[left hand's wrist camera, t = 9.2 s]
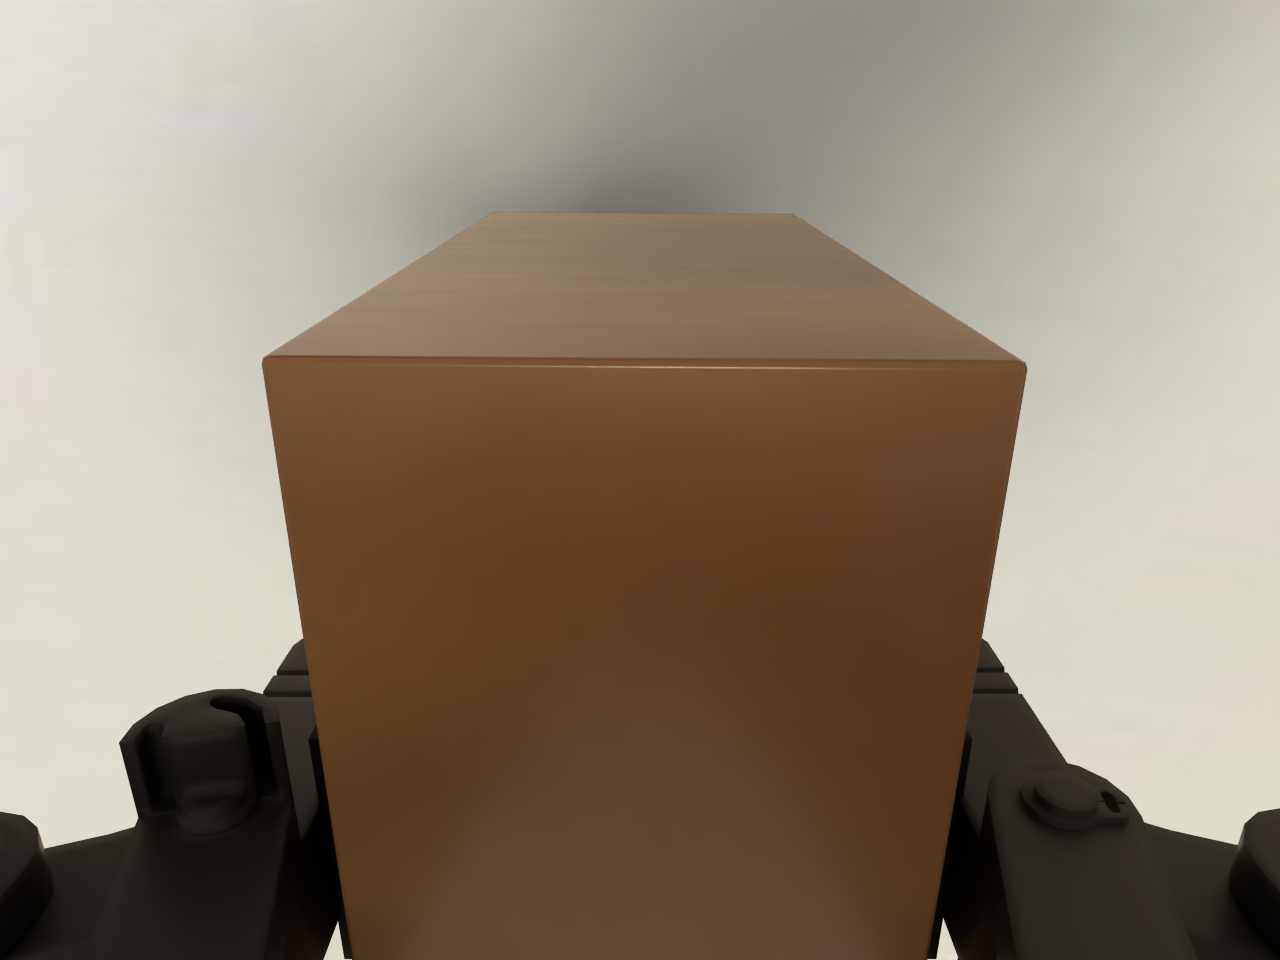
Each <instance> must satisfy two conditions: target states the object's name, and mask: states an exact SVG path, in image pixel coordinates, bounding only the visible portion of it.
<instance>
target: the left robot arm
mask: <svg viewBox="0 0 1280 960" xmlns="http://www.w3.org/2000/svg"><path fill="white" fill-rule="evenodd" d="M119 744H120V748H121V752H122V756H123V760H124V764H125V767H126V771H127V775H128V779H129V783H130V787H131V790H132V794H133V798H134V802H135V806H136V810H137V814H138V817H139V818H138V820H137V823H136V825H135V827H133V828H129V829H126V830H122V831H119V832H116V833H112V834H108V835H104V836H99V837H95V838H90V839H86V840H81V841H77V842H72V843H68V844H63V845H59V846H55V847H50V848H46V849H44V847H43V844H42V841H41V837H40V834H39V831H38V828H37V827H36V826H35V825H34V824H33V823H32V822H30V821H29V820H28V819H27V818H26V817H25V816H22V815H16V814H10V813H5V812H0V960H323V959H324V957H325V954H326V951H327V949H328V946H329V943H330V941H331V938H332V935H333V933H334V930H335V927H336V925H337V922H338V923H339V929H340V935H341V941H342V947H343V953H344V959H352V955H351V948H350V942H349V935H348V929H347V922H346V915H345V909H344V902H343V896H342V889H341V882H340V876H339V869H338V863H337V856H336V849H335V843H334V836H333V830H332V823H331V816H330V810H329V803H328V797H327V790H326V783H325V777H324V770H323V764H322V757H321V750H320V744H319V737H318V731H317V724H316V717H315V711H314V704H313V698H312V691H311V684H310V678H309V671H308V665H307V658H306V651H305V645H304V638H303V639H302V640H300V641H299V642H298V643H296V644H295V645H293V647H292V648H291V650H290V652H289V653H288V655H287V656H286V658H285V659H284V661H283V662H282V664H281V665H280V667H279V668H278V670H277V676H273V677H272V679H271V681H270V682H269V684H268V685H267V687H266V688H265V690H264V691H263V694H260V693H256V692H252V691H249V690H245V689H215V690H210V691H206V692H201V693H197V694H192V695H188V696H184V697H182V698H180V699H177V700H175V701H173V702H170V703H168V704H165V705H163V706H161V707H158V708H156V709H155V710H153V711H152V712H151V713H149V714H148V715H146V716H145V717H143V718H142V719H141V720H139V721H138V722H136V723H135V724H133V726H132V727H131V728H130V729H129V731H128V732H127V733H126V735H125V736H124V737H123V738H122V740H121V741H120V742H119ZM943 918H944V921H945V923H946V926H947V929H948V931H949V934H950V937H951V939H952V942H953V945H954V947H955V950H956V953H957V955H958V960H1280V808H1279V809H1274V810H1268V811H1262V812H1258V813H1257V814H1255V815H1254V816H1253V817H1252V818H1251V819H1250V820H1248V821H1247V822H1246V823H1245V824H1244V827H1243V831H1242V834H1241V837H1240V840H1239V843H1238V845H1234V844H1230V843H1225V842H1221V841H1216V840H1212V839H1207V838H1203V837H1198V836H1194V835H1189V834H1185V833H1180V832H1176V831H1171V830H1168V829H1165V828H1161V827H1158V826H1154V825H1151V824H1147V823H1145V822H1144V821H1143V819H1142V816H1141V815H1140V813H1139V812H1138V810H1137V809H1136V807H1135V806H1134V804H1133V803H1132V801H1131V800H1130V798H1129V797H1128V796H1127V795H1125V794H1124V793H1123V792H1122V791H1120V790H1119V789H1118V788H1117V787H1115V786H1114V785H1113V784H1112V783H1110V782H1109V781H1108V780H1107V779H1105V778H1103V777H1101V776H1098V775H1096V774H1094V773H1092V772H1090V771H1088V770H1086V769H1084V768H1082V767H1080V766H1076V765H1072V764H1068V763H1067V762H1066V760H1065V759H1064V757H1063V756H1062V754H1061V753H1060V751H1059V750H1058V748H1057V747H1056V745H1055V744H1054V742H1053V741H1052V739H1051V738H1050V736H1049V735H1048V733H1047V732H1046V730H1045V729H1044V727H1043V726H1042V724H1041V723H1040V721H1039V720H1038V718H1037V716H1036V715H1035V713H1034V712H1033V710H1032V709H1031V707H1030V706H1029V704H1028V703H1027V701H1026V700H1025V698H1024V697H1023V695H1022V694H1018V688H1017V686H1016V685H1015V683H1014V682H1013V680H1012V679H1011V677H1010V676H1009V674H1008V673H1005V672H1004V666H1003V665H1002V663H1001V662H1000V660H999V659H998V657H997V656H996V654H995V653H994V651H993V650H992V648H991V647H990V645H989V644H988V642H986V641H985V640H984V639H981V645H980V651H979V657H978V663H977V669H976V675H975V681H974V687H973V693H972V699H971V704H970V710H969V716H968V722H967V728H966V734H965V740H964V746H963V752H962V758H961V763H960V769H959V775H958V781H957V787H956V793H955V799H954V805H953V811H952V817H951V823H950V828H949V834H948V840H947V846H946V852H945V858H944V864H943V870H942V876H941V882H940V888H939V893H938V899H937V905H936V911H935V917H934V923H933V929H932V935H931V941H930V947H929V952H928V958H927V959H936V957H937V951H938V945H939V939H940V933H941V927H942V921H943Z"/></svg>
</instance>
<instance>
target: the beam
mask: <svg viewBox="0 0 1280 960" xmlns="http://www.w3.org/2000/svg"><path fill="white" fill-rule="evenodd" d="M262 368H263V374H264V381H265V388H266V394H267V401H268V407H269V414H270V421H271V427H272V434H273V440H274V447H275V454H276V460H277V467H278V473H279V480H280V486H281V493H282V500H283V506H284V513H285V519H286V526H287V533H288V539H289V546H290V552H291V559H292V566H293V572H294V579H295V585H296V592H297V599H298V605H299V612H300V618H301V625H302V632H303V638H304V645H305V651H306V658H307V665H308V671H309V678H310V684H311V691H312V698H313V704H314V711H315V717H316V724H317V731H318V737H319V744H320V750H321V757H322V764H323V770H324V777H325V783H326V790H327V797H328V803H329V810H330V816H331V823H332V830H333V836H334V843H335V849H336V856H337V863H338V869H339V876H340V882H341V889H342V896H343V902H344V909H345V915H346V922H347V929H348V935H349V942H350V948H351V955H352V960H927V958H928V952H929V947H930V941H931V935H932V929H933V923H934V917H935V911H936V905H937V899H938V893H939V888H940V882H941V876H942V870H943V864H944V858H945V852H946V846H947V840H948V834H949V828H950V823H951V817H952V811H953V805H954V799H955V793H956V787H957V781H958V775H959V769H960V763H961V758H962V752H963V746H964V740H965V734H966V728H967V722H968V716H969V710H970V704H971V699H972V693H973V687H974V681H975V675H976V669H977V663H978V657H979V651H980V645H981V639H982V634H983V628H984V622H985V616H986V610H987V604H988V598H989V592H990V586H991V580H992V574H993V569H994V563H995V557H996V551H997V545H998V539H999V533H1000V527H1001V521H1002V515H1003V510H1004V504H1005V498H1006V492H1007V486H1008V480H1009V474H1010V468H1011V462H1012V456H1013V450H1014V445H1015V439H1016V433H1017V427H1018V421H1019V415H1020V409H1021V403H1022V397H1023V391H1024V386H1025V380H1026V374H1027V366H1026V363H1025V362H1024V361H1022V360H1021V359H1019V358H1017V357H1016V356H1014V355H1013V354H1011V353H1010V352H1008V351H1006V350H1005V349H1003V348H1002V347H1000V346H999V345H997V344H996V343H994V342H992V341H991V340H989V339H988V338H986V337H985V336H983V335H981V334H980V333H978V332H977V331H975V330H974V329H972V328H971V327H969V326H967V325H966V324H964V323H963V322H961V321H960V320H958V319H956V318H955V317H953V316H952V315H950V314H949V313H947V312H946V311H944V310H942V309H941V308H939V307H938V306H936V305H935V304H933V303H931V302H930V301H928V300H927V299H925V298H924V297H922V296H921V295H919V294H917V293H916V292H914V291H913V290H911V289H910V288H908V287H906V286H905V285H903V284H902V283H900V282H899V281H897V280H896V279H894V278H892V277H891V276H889V275H888V274H886V273H885V272H883V271H881V270H880V269H878V268H877V267H875V266H874V265H872V264H870V263H869V262H867V261H866V260H864V259H863V258H861V257H860V256H858V255H856V254H855V253H853V252H852V251H850V250H849V249H847V248H845V247H844V246H842V245H841V244H839V243H838V242H836V241H835V240H833V239H831V238H830V237H828V236H827V235H825V234H824V233H822V232H820V231H819V230H817V229H816V228H814V227H813V226H811V225H810V224H808V223H806V222H805V221H803V220H802V219H800V218H799V217H797V216H795V215H793V214H691V213H551V212H493V213H491V214H490V215H488V216H486V217H485V218H483V219H482V220H480V221H478V222H477V223H475V224H474V225H472V226H471V227H469V228H467V229H466V230H464V231H463V232H461V233H459V234H458V235H456V236H455V237H453V238H452V239H450V240H448V241H447V242H445V243H444V244H442V245H440V246H439V247H437V248H436V249H434V250H433V251H431V252H429V253H428V254H426V255H425V256H423V257H422V258H420V259H418V260H417V261H415V262H414V263H412V264H410V265H409V266H407V267H406V268H404V269H403V270H401V271H399V272H398V273H396V274H395V275H393V276H391V277H390V278H388V279H387V280H385V281H384V282H382V283H380V284H379V285H377V286H376V287H374V288H372V289H371V290H369V291H368V292H366V293H365V294H363V295H361V296H360V297H358V298H357V299H355V300H353V301H352V302H350V303H349V304H347V305H346V306H344V307H342V308H341V309H339V310H338V311H336V312H334V313H333V314H331V315H330V316H328V317H327V318H325V319H323V320H322V321H320V322H319V323H317V324H316V325H314V326H312V327H311V328H309V329H308V330H306V331H304V332H303V333H301V334H300V335H298V336H297V337H295V338H293V339H292V340H290V341H289V342H287V343H285V344H284V345H282V346H281V347H279V348H278V349H276V350H274V351H273V352H271V353H270V354H268V355H266V356H265V357H264V358H263V361H262Z"/></svg>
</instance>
